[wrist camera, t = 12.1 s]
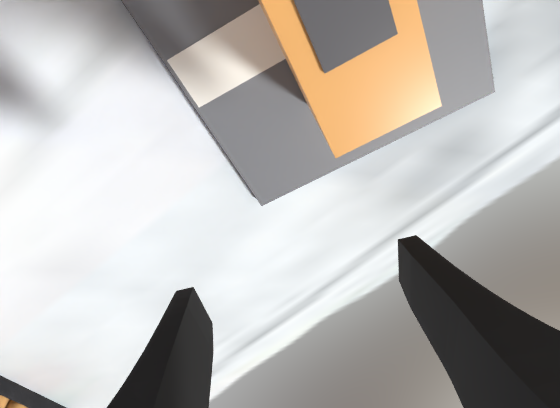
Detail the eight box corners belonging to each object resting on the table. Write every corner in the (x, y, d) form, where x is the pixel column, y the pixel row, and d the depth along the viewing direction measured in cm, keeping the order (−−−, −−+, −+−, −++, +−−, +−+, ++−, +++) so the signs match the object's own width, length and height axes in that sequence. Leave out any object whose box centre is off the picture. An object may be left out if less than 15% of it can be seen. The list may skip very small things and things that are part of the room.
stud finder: (307, 104, 18) (336, 160, 13) (221, -77, 13) (213, -102, 8) (381, 65, 17) (444, 107, 12) (316, -140, 13) (370, -209, 8)
